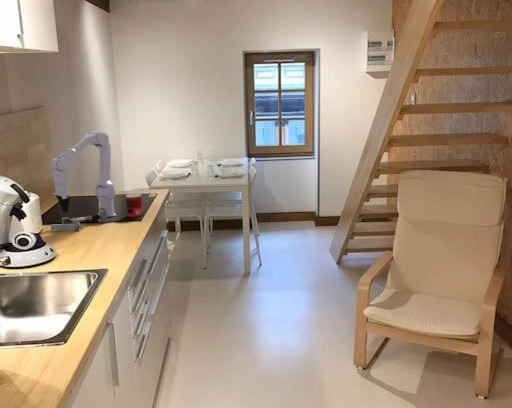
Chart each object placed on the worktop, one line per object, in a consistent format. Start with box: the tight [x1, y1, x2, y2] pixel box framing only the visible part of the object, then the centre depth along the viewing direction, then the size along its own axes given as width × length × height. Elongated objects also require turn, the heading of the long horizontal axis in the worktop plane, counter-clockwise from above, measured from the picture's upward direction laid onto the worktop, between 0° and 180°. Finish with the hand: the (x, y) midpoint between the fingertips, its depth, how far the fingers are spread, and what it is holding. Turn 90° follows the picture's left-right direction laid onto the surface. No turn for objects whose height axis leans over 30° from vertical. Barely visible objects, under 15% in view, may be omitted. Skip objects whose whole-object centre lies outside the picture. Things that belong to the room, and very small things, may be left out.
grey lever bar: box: [50, 222, 81, 232], centre depth 248 cm, size 14×2×3 cm, turn 90°
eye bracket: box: [97, 207, 111, 224], centre depth 262 cm, size 6×5×6 cm
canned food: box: [125, 193, 144, 218], centre depth 271 cm, size 8×8×11 cm
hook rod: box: [61, 215, 93, 224], centre depth 257 cm, size 4×14×4 cm, turn 117°
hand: (64, 210), depth 254 cm, fingers open, 7 cm apart
